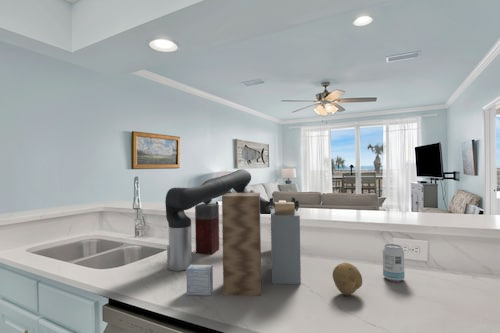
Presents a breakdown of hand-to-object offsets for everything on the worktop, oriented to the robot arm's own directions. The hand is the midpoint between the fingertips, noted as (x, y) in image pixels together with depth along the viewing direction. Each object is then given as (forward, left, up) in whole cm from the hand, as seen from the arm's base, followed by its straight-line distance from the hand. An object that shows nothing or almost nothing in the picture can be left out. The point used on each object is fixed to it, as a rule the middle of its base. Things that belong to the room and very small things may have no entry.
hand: (282, 199), depth 117 cm
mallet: (0, -5, -4) cm, 7 cm away
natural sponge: (+19, -25, -28) cm, 42 cm away
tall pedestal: (-15, -20, -28) cm, 38 cm away
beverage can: (+39, -12, -28) cm, 50 cm away
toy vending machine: (-36, +23, -28) cm, 51 cm away
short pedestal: (0, -9, -28) cm, 29 cm away
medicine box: (-29, -25, -28) cm, 48 cm away
